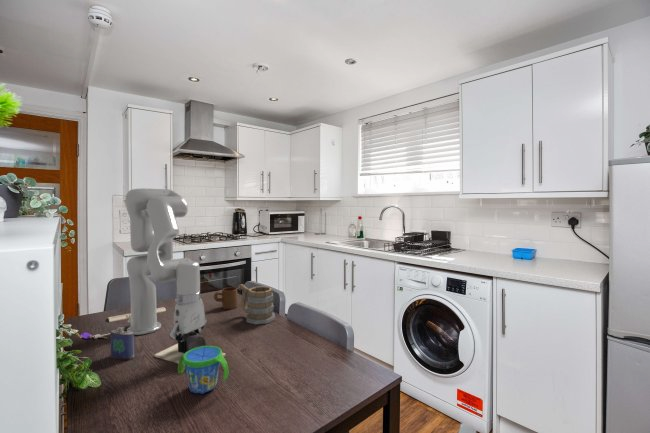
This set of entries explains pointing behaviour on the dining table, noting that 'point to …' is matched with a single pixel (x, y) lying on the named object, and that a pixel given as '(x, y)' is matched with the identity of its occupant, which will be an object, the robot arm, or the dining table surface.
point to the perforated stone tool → (194, 341)
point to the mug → (227, 298)
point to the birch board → (172, 354)
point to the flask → (122, 344)
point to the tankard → (258, 304)
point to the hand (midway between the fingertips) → (189, 347)
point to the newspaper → (127, 316)
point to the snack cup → (203, 368)
